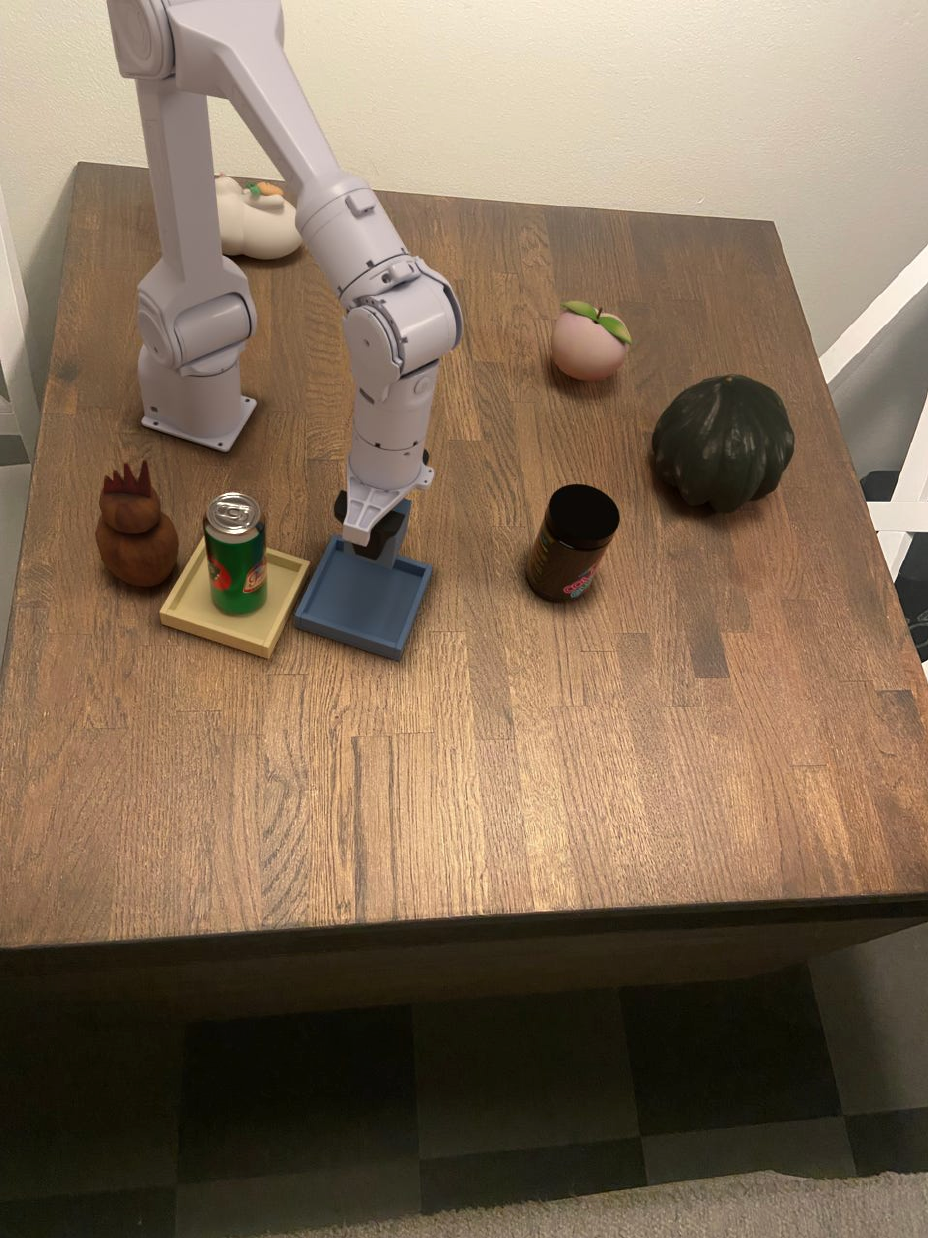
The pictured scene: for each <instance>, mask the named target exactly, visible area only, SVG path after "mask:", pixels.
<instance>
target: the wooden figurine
mask: <svg viewBox="0 0 928 1238" xmlns="http://www.w3.org/2000/svg"><path fill="white" fill-rule="evenodd" d="M98 505H99V509H100V515H99V517H98V521H97V525H96V529H95V533H94V537H95V542H96V546H97V549H98V553H99V556H100V560H101V561H102V563H103V564H104V565H105V566H106V567H107V568H108V569H109V570H110V571H111V572H112V573H113V574H114V575H115V576H117V577H118V578H119V579H120V580H122V582H125V583H127V584H129V585H132V586H136V587H141V588H152V587H154V586H158V585H160V584H161V583H163V582H164V581H166V580H167V579H168V577H169V576H170V574H171V573H172V572H173V570H174V568H175V566H176V561H177V558H178V554H179V546H180V544H179V536H178V532H177V529H176V527H175V524H174V522H173V520H172V519H171V518H170V516H168V515H167V514H166V513H165V512H163V511H162V505H161V500H160V497H159V495H158V492H157V491H156V489H155V488H154V486H152V481H151V475H150V469H149V463H148V460H146V459H143V460H142V462H141V467H140V472H139V476H138V477H137V476H135V475H134V473H133V471H132V469H131V467H130V464H129V463H128V462H127V461H126V462H123V476H121V475H120V473H119V471H118V470H116V469H113V471H112V477H110V476H109V475H107V474H105V475H104V479H103V487H102V489H101V491H100V494H99V499H98Z"/></svg>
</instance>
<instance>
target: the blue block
mask: <svg viewBox="0 0 928 1238" xmlns="http://www.w3.org/2000/svg"><path fill="white" fill-rule="evenodd" d="M412 505H413V501H412V500H411V499H408V498H406V497H405V498H403V499H402V500H401V501H400V502H399V503H398V504H397V505H396V506H394V507H393V508H392V509H391V510H393V511H396V512H399V513H402V514H405V515H406V516H405V518H404V521H403V523H402V525H401V528H400V529H399V531H398V532H397V533H396V535H395V536H393V537H391V538H389V539H388V540H387V541H386V543H385V546H384V548H383V550H382V553H381V555H380V556H379V558H378V559H377V560H372V559H369V558H366V557H362V556H359V555H356V554H355V552H354V549H353V546H352V543H351V542H350V541H347V540H345V541H344V552H343V554H345V555H349V556H352V557H355V558H358V559H361V560H364V561H367V562H370V563H373V564H376V565H379V566H383V567H386V568H389V569H392V567H393V564H394V562H395V560H396V557H397V555H399V552H400V550H401V548H402V544H404V543H403V542H404V540H405V538H406V536H407V532H408V527H409V521H410V515H411V509H412Z"/></svg>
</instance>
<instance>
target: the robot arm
mask: <svg viewBox="0 0 928 1238" xmlns="http://www.w3.org/2000/svg"><path fill="white" fill-rule="evenodd" d="M105 1H106V7H107V14H108V19H109V24H110V25H109V26H110V31H111V36H112V43H113V48H114V54H115V59H116V62H117V67H118V72H119V75H120V76H121V78H123V79H130V80H134V84H135V91H136V96H137V97H136V98H137V104H138V109H139V117H140V123H141V129H142V135H143V140H144V147H145V155H146V161H147V167H148V173H149V180H150V187H151V192H152V198H153V204H154V210H155V211H154V212H155V218H156V225H157V230H158V236H159V242H160V243H159V244H160V249H161V254H162V255H161V258H160V259H159V260H158V261H157V263H156V264H154V266H153V267H152V268H151V269H150V271H148V273H147V274H146V275H145V276H144V277H143V278H142V279H141V281H140V282H139V283H138V285H137V286H136V290H137V302H138V310H137V313H136V325H137V329H138V332H139V336H140V338H141V340H142V342H143V343H142V346H141V348H140V352H139V354H138V361H137V378H138V383H139V390H140V396H141V401H142V407H143V413H144V416H143V417H142V419H141V425H143V426H144V427H146V428H149V429H152V430H156V431H158V432H161V433H165V434H168V435H171V436H172V437H173V436H174V437H177V438H180V439H183V440H186V441H189V442H192V443H194V444H198V445H201V446H205V447H207V448H210V449H214V450H217V451H219V452H223V453H226V452H229V451H230V450H231V448H232V446H233V445H234V443H235V442H236V440H237V438H238V437H239V435H240V434H241V432H242V430H243V429H244V426H245V425H246V423H247V422H248V420H249V418H250V417H251V415H252V414H253V412H254V410H255V409H256V407H257V405H258V402H257V400H256V399H254V398H251V397H248V396H245V395H242V386H241V385H242V383H241V363H240V355H241V354H242V353H243V352H245V351H246V350H247V349H246V340H249V339H251V338H253V337H254V336H255V334H256V333H257V327H258V314H257V308H256V306H255V303H254V300H253V297H252V295H251V291H250V285H249V279H248V277H247V275H246V274H245V273H244V271H243V269H241V268H240V266H238V265H237V264H236V262H234V261H233V260H232V259H230V258H229V257H227V256H226V255H224V254H222V247H221V237H220V227H219V217H218V207H217V196H216V186H215V179H216V178H215V168H214V167H215V166H214V159H213V158H214V157H213V156H214V155H213V148H212V147H213V146H212V138H211V126H210V115H209V106H208V97H212V98H216V99H217V98H218V99H223V100H227V101H229V103H230V104H231V106H232V107H233V109H234V110H235V112H236V113H237V114H238V116H239V117H240V119H241V120H242V122H243V123H244V125H246V127H247V129H248V130H249V132H250V133H251V134H252V136H253V137H254V139H255V140H256V141H257V143H258V145H259V146H260V147H261V149H262V150H263V151H264V153H265V154H266V156H267V157H268V159H269V160H270V162H271V163H272V164H273V166H274V167H275V168H276V170H277V171H278V173H279V175H280V176H281V177H282V179H283V180H284V181H285V183H286V185H287V186H288V187H289V188H290V190H291V191H292V193H293V194H294V196H295V198H296V200H297V203H296V208H295V209H296V215H295V227H296V229H297V231H298V232H299V234H300V236H301V237H302V239H303V241H302V242H303V243H304V245H305V246H306V248H307V249H308V251H309V253H310V255H311V256H312V258H313V260H314V261H315V263H316V265H317V266H318V268H319V269H320V272H321V273H322V275H323V276H324V278H325V280H326V282H327V283H328V285H329V287H330V289H331V290H332V292H333V293H334V295H335V297H336V298H337V300H338V301H339V304H340V305H341V307H342V308H343V310H344V312H345V313H346V315H342V316H341V327H342V333H343V337H344V341H345V344H346V347H347V349H348V353H349V356H350V369H349V370H350V371H349V372H350V373H351V374H352V375H351V377H352V381H353V382H354V383H355V391H354V392H355V393H354V403H353V405H354V406H353V415H352V427H351V437H350V438H351V439H350V441H351V442H350V449H349V451H348V454H347V457H346V490H344V489H340V491H339V493H338V495H337V497H336V499H335V501H334V504H333V516H334V519H336V520H337V521H339V522H340V524H341V525H342V533H341V534H342V535H341V536H342V539H343V540H347V541H350V542H351V543H352V546H353V549H354V552H355V554H356V555H359V556H362V557H366V558H369V559H372V560H377V559H378V558H379V556H380V555H381V553H382V550H383V548H384V546H385V543H386V541H387V540H388V539H389V538H391V537H393V536H395V535H396V533H397V532H398V531H399V529H400V528H401V525H402V523H403V521H404V518H405V516H406V515H405V514H402V513H399V512H396V511H393V510H391V509H392V508H393V507H394V506H396V505H397V504H398V503H399V502H400V501H401V500H402V499H403V498H405V499H406V497H407V496H408V495H409V494H410V493H411V492H412V491H414V490H415V489H416V490H417V489H418V490H420V491H428V490H429V489H430V488H431V485H432V484H433V480H434V477H435V470H434V469H433V468H432V467H430V466H428V463H429V460H430V453H429V451H428V450H427V449H425V446H426V445H425V444H426V439H427V434H428V428H429V423H430V418H431V412H432V406H433V400H434V395H435V390H436V384H437V380H438V373H439V367H440V362H441V357H444V356H445V355H447V354H449V353H450V352H451V351H453V350H455V349H457V348H458V346H459V345H460V343H461V341H462V338H463V334H464V317H463V312H462V310H461V306H460V303H459V300H458V297H457V296H456V295H455V294H456V293H455V292H454V289H453V287H452V285H451V284H450V282H449V281H448V280H447V278H445V277H444V276H443V275H442V274H441V273H439V272H438V271H436V270H435V269H432V268H430V267H429V266H428V265H427V264H426V262H425V261H424V259H423V258H420V257H419V255H415V256H411V254H410V252H409V250H408V249H407V246H406V245H405V243H404V241H403V240H402V238H401V236H400V234H399V233H398V231H397V229H396V228H395V226H394V224H393V223H392V221H391V220H390V217H389V215H388V214H387V212H386V211H385V209H384V208H383V205H382V204H381V202H380V200H379V199H378V197H377V196H376V193H375V191H374V190H373V188H372V187H371V185H370V183H369V182H368V180H367V179H366V178H364V177H362V176H360V175H357V174H354V173H350V172H348V171H344V170H342V168H341V166H340V164H339V162H338V160H337V157H336V156H335V154H334V152H333V149H332V147H331V145H330V143H329V141H328V139H327V137H326V135H325V132H324V131H323V128H322V127H321V124H320V122H319V121H318V118H317V117H316V114H315V111H314V110H313V108H312V106H311V104H310V102H309V99H308V98H307V96H306V94H305V92H304V89H303V88H302V86H301V83H300V82H299V79H298V78H297V75H296V73H295V71H294V68H293V67H292V65H291V63H290V61H289V58H288V57H287V54H286V52H285V50H284V49H285V48H284V47H285V18H284V17H285V16H284V10H283V4H282V1H281V0H105Z"/></svg>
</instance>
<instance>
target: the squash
mask: <svg viewBox="0 0 928 1238" xmlns="http://www.w3.org/2000/svg"><path fill="white" fill-rule="evenodd" d="M795 438H796V436H795V433H794V430H793V428H792V426H791V423H790V418H789V415H788V411H787V408H786V406H785V404H784V401H783V400H782V397H781V396H780V395H779V394H778V393H777V392H776V391H775V390H774V389H773V388H772V387H770V386H768V385H766V384H765V383H763V382H761V381H758V380H755V379H753V378H752V377H749V376H747V375H743V374H736V373H730V374H724V375H714V376H711V377H707V378H704V379H702V380H701V381H699V382H697V383H695V384H692V385H690V386H688V387H686V388H685V389H684V390H683V391H681V392H680V393H679V394H678V395H677V396H676V397H675V398H674V399H673V400H672V401H671V403H670V404H669V405H667V407H666V408H665V410H664V411H663V412H662V413H661V415H660V416H659V418H658V420H657V422H656V424H655V427H654V428H653V432H652V436H651V450H652V452H653V454H654V456H655V470H656V472H657V474H658V476H659V477H660V479H661V480H663V481H664V482H665V483H667V484H668V485H670V486H672V487H677V488H678V490H679V493H680V495H681V498H682V499H683V500H684V502H686V503H687V505H689V506H694V507H695V506H700V505H704V504H705V503H706V502H708V504H709V506H710V507H711V508H712V510H715V511H716V512H718V513H720V514H731V513H734V512H736V511H738V510H740V509H741V508H743V507H744V506H745V505H746V504H747V503H749V502H758V501H760V500H762V499H764V498H765V497H766V496H767V495H769V494H771V493H774V492H775V491H776V490H777V488H778V486H779V484H780V482H781V479H782V476H783V473H784V472H785V471H786V470H787V468H788V466H789V464H790V462H791V460H792V458H793V456H794V452H795V440H796V439H795Z"/></svg>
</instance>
